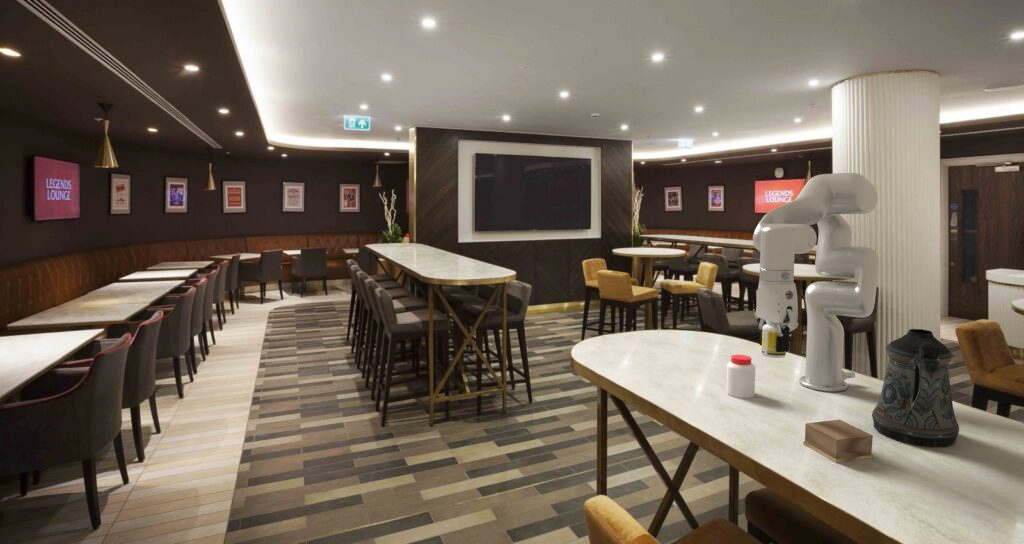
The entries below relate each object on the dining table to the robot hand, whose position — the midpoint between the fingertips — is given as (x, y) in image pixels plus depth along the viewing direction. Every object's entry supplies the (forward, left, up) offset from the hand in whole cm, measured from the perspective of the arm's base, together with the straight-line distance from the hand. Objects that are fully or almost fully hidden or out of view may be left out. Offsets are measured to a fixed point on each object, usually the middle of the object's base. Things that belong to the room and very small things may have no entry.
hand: (774, 347), depth 133 cm
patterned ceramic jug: (-27, +15, -20) cm, 37 cm away
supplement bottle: (0, 0, -2) cm, 2 cm away
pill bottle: (-5, -21, -20) cm, 29 cm away
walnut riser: (-3, +17, -19) cm, 26 cm away
